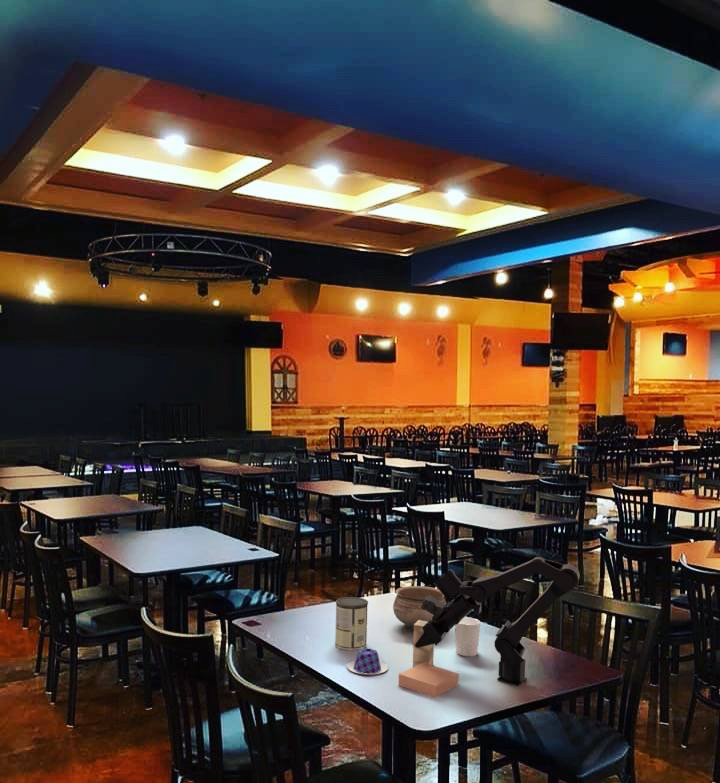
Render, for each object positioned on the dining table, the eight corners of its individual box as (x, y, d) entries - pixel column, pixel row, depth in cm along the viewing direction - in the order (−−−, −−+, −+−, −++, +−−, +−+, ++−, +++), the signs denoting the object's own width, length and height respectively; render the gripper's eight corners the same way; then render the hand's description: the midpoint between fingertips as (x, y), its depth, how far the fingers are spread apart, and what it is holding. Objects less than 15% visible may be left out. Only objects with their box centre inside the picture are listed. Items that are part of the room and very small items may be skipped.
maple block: (433, 664, 210) (434, 622, 211) (429, 670, 206) (430, 627, 206) (417, 661, 212) (418, 620, 212) (412, 667, 207) (413, 624, 208)
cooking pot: (416, 642, 230) (418, 604, 230) (375, 628, 243) (376, 592, 244) (462, 627, 247) (464, 592, 248) (421, 614, 261) (422, 581, 261)
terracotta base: (458, 684, 196) (458, 673, 196) (435, 697, 186) (435, 685, 186) (422, 672, 203) (422, 662, 203) (398, 684, 194) (398, 674, 194)
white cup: (478, 658, 217) (479, 625, 217) (453, 655, 218) (454, 623, 218) (479, 650, 224) (480, 618, 225) (454, 647, 226) (455, 616, 226)
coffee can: (343, 638, 232) (344, 595, 232) (371, 643, 227) (373, 599, 228) (328, 647, 222) (330, 602, 223) (358, 653, 218) (359, 607, 218)
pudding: (361, 658, 214) (362, 641, 214) (395, 668, 207) (395, 650, 207) (338, 670, 204) (339, 652, 204) (373, 680, 197) (374, 661, 197)
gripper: (445, 581, 217) (410, 612, 220) (430, 596, 199) (392, 629, 203) (470, 610, 214) (433, 641, 217) (457, 627, 196) (417, 661, 200)
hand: (419, 642), depth 209 cm, fingers open, 7 cm apart
